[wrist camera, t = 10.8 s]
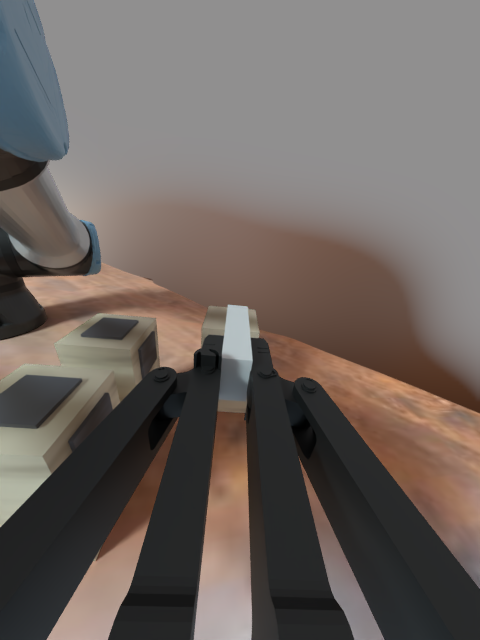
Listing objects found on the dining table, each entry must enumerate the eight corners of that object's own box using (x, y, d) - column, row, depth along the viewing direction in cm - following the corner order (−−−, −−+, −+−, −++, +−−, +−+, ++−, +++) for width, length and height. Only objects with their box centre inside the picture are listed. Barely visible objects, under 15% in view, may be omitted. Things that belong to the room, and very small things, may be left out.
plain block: (206, 378, 38) (209, 305, 32) (245, 380, 38) (255, 309, 32) (199, 410, 31) (201, 327, 25) (246, 413, 32) (259, 332, 26)
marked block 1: (117, 395, 32) (99, 310, 26) (165, 398, 33) (159, 315, 27) (86, 440, 26) (53, 341, 20) (147, 443, 26) (132, 347, 20)
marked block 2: (70, 463, 23) (26, 358, 17) (137, 466, 24) (118, 365, 18) (5, 558, 17) (-103, 445, 11) (99, 561, 17) (46, 452, 11)
